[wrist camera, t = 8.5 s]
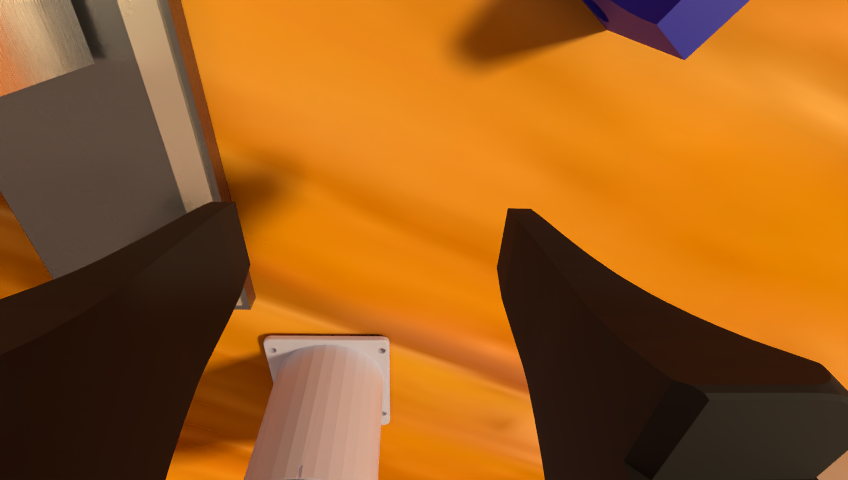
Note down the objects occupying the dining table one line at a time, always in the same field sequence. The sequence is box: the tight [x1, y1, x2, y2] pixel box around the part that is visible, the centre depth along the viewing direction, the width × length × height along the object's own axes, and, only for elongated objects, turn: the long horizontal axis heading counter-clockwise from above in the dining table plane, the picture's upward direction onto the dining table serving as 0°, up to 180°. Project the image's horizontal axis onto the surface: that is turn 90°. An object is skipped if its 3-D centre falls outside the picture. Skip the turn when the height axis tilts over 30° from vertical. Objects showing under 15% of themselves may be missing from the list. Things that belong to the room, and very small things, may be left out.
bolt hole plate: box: [0, 0, 256, 310], centre depth 19 cm, size 18×10×1 cm, turn 178°
